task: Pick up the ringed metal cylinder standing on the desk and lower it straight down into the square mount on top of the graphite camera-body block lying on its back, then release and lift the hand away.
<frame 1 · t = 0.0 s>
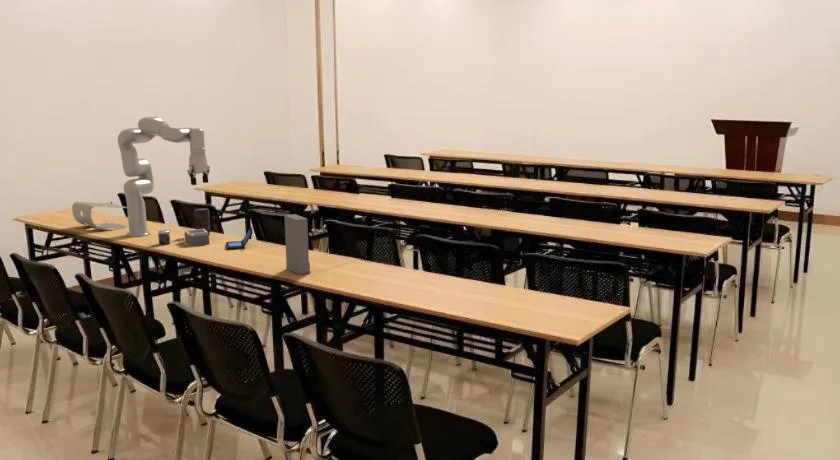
hand: (199, 183, 385), 31 cm above the table, tool pointing down, fingers open, 9 cm apart
game console: (239, 247, 377), on the table
camera lens: (203, 235, 405), on the table
camera body block: (197, 242, 386), on the table
ringed metal cylinder: (164, 244, 383), on the table
tall grey upright pillar: (298, 271, 326), on the table
portable electronic device stand: (102, 228, 429), on the table
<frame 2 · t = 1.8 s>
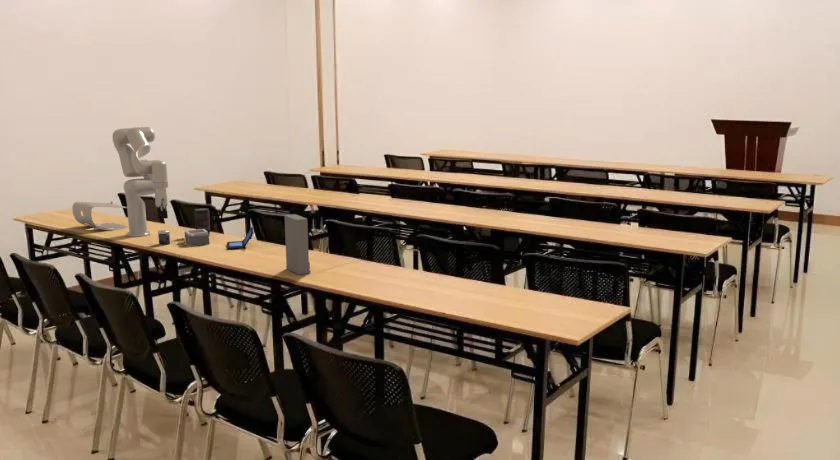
hand: (163, 217, 380), 15 cm above the table, tool pointing down, fingers open, 9 cm apart
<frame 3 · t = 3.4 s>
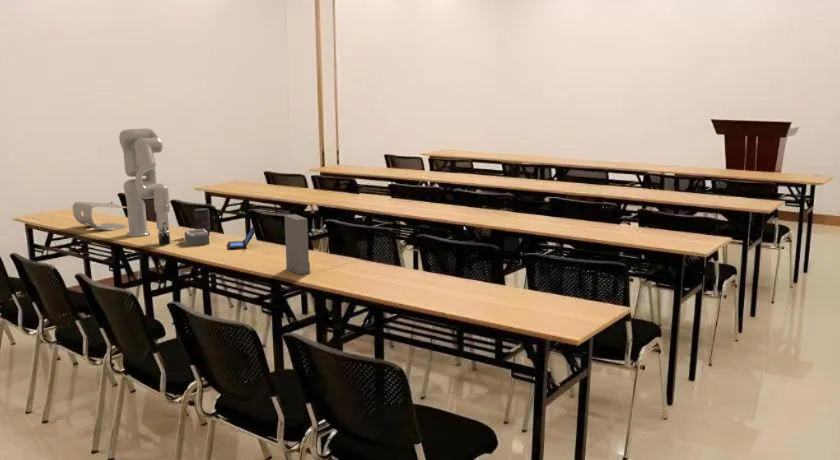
hand: (164, 242, 383), 1 cm above the table, tool pointing down, fingers closed on ringed metal cylinder, 5 cm apart
ringed metal cylinder: (164, 243, 383), on the table, touching gripper
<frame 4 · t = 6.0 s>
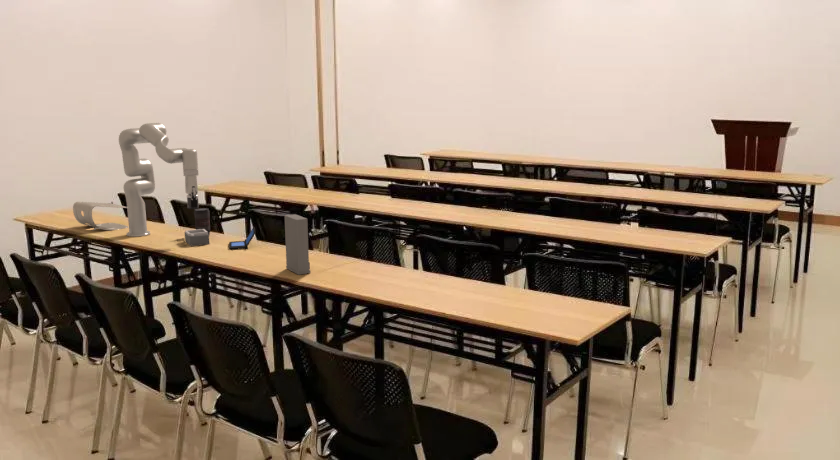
hand: (193, 206, 382), 20 cm above the table, tool pointing down, fingers closed on ringed metal cylinder, 5 cm apart
ringed metal cylinder: (193, 208, 382), point 19 cm above the table, touching gripper
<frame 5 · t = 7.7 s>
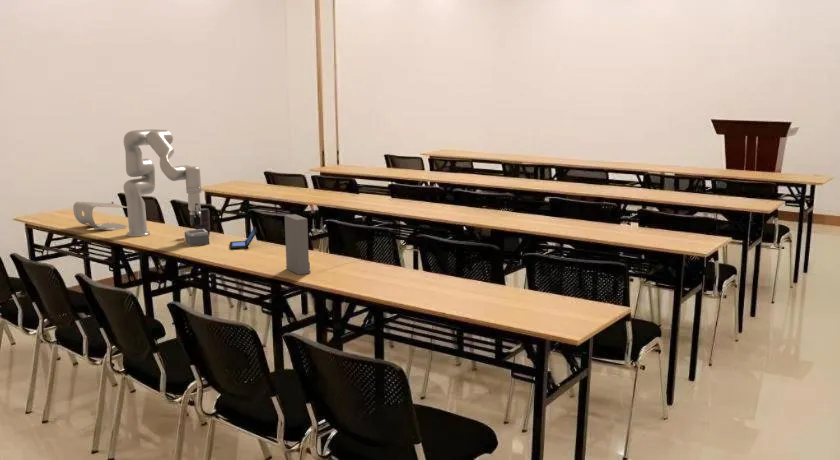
hand: (196, 223, 384), 11 cm above the table, tool pointing down, fingers closed on ringed metal cylinder, 5 cm apart
ringed metal cylinder: (196, 225, 384), point 10 cm above the table, touching gripper
when the fingers open (7 cm above the table, at t = 8.8 s): ringed metal cylinder drops 1 cm, resting on camera body block.
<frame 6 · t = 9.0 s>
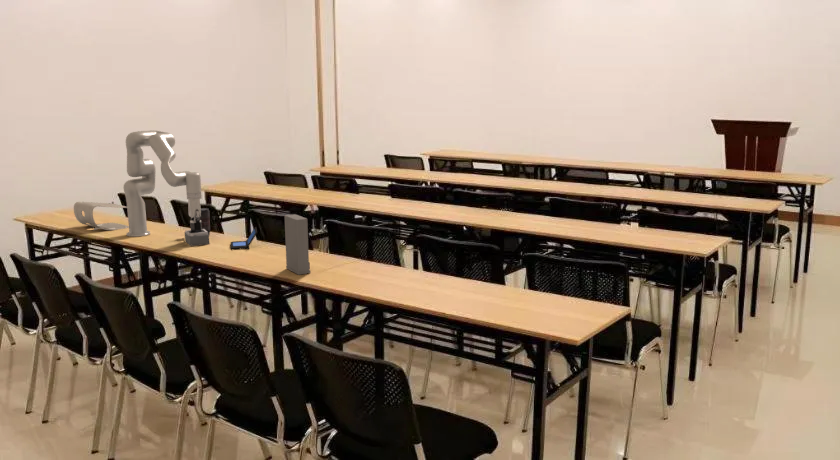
hand: (196, 228, 385), 8 cm above the table, tool pointing down, fingers open, 7 cm apart
ringed metal cylinder: (196, 233, 385), point 5 cm above the table, touching camera body block
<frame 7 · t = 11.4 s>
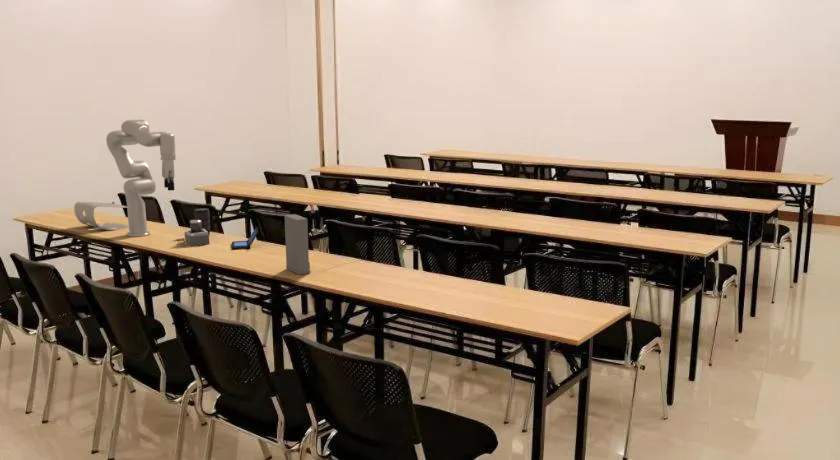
hand: (169, 188, 384), 29 cm above the table, tool pointing down, fingers open, 9 cm apart
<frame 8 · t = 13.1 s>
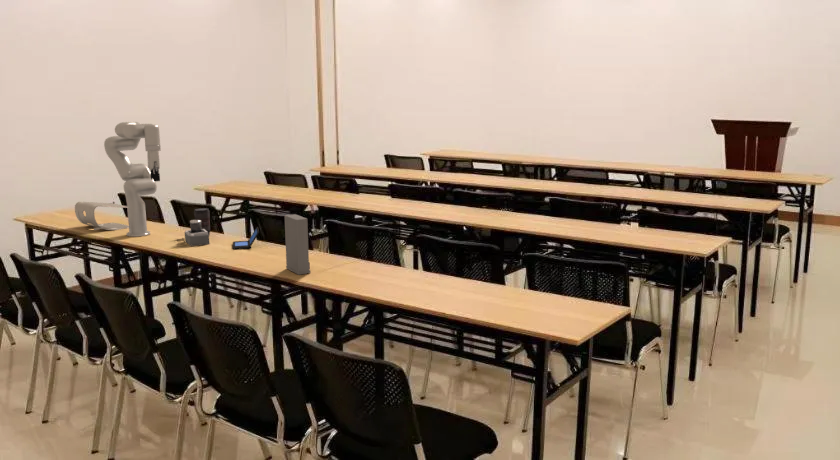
hand: (155, 180, 384), 33 cm above the table, tool pointing down, fingers open, 9 cm apart
at the end: ringed metal cylinder 0.1 cm off-centre on the camera body block, point 5.0 cm above the camera body block's base; ringed metal cylinder tilted 0°; the gripper is holding nothing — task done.
